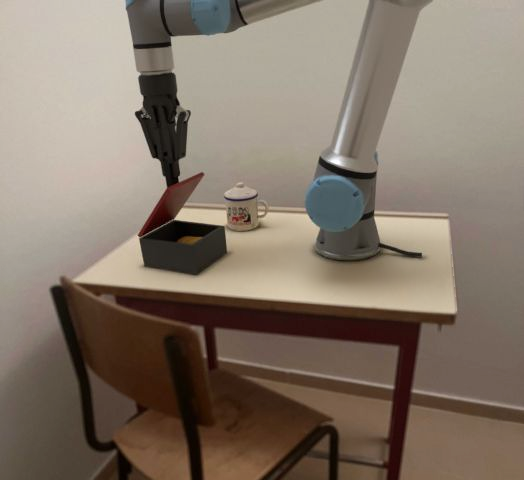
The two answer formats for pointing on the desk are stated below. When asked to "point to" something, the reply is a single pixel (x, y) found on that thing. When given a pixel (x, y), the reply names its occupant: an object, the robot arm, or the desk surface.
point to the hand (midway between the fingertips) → (173, 191)
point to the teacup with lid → (243, 208)
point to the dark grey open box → (183, 246)
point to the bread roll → (188, 239)
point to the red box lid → (170, 203)
